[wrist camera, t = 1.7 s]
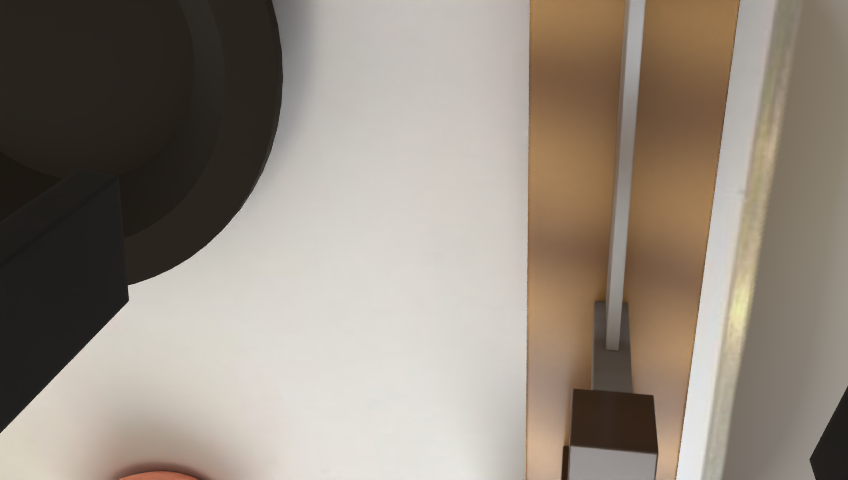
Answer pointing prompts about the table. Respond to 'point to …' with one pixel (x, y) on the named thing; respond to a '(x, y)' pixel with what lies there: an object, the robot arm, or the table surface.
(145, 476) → the teapot
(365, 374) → the table surface
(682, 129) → the wood grain block
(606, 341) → the brown and grey bar
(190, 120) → the plate
